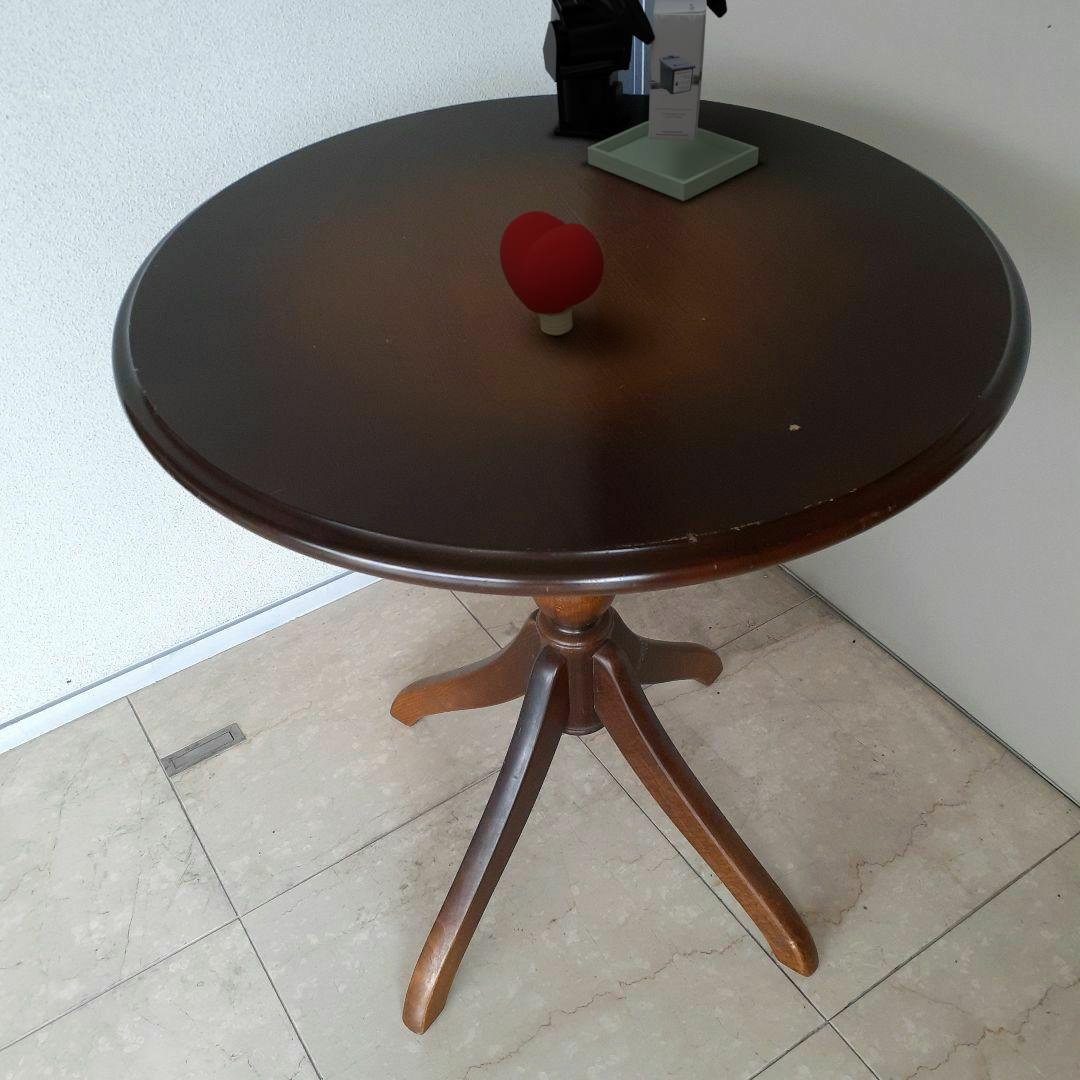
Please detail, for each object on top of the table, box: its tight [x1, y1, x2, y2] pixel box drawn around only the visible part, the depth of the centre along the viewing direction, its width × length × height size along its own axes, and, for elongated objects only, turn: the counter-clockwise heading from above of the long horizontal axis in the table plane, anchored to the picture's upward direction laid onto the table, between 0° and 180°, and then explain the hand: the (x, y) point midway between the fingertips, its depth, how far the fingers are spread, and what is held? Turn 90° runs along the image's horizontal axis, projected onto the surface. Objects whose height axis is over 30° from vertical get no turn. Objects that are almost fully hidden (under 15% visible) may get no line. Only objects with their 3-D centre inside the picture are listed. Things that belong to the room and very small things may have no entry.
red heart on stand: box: [499, 210, 605, 338], centre depth 82 cm, size 9×7×10 cm
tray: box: [587, 120, 760, 202], centre depth 107 cm, size 14×11×2 cm
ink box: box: [648, 0, 708, 140], centre depth 98 cm, size 9×5×12 cm, turn 173°
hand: (688, 28), depth 95 cm, fingers closed on ink box, 9 cm apart
